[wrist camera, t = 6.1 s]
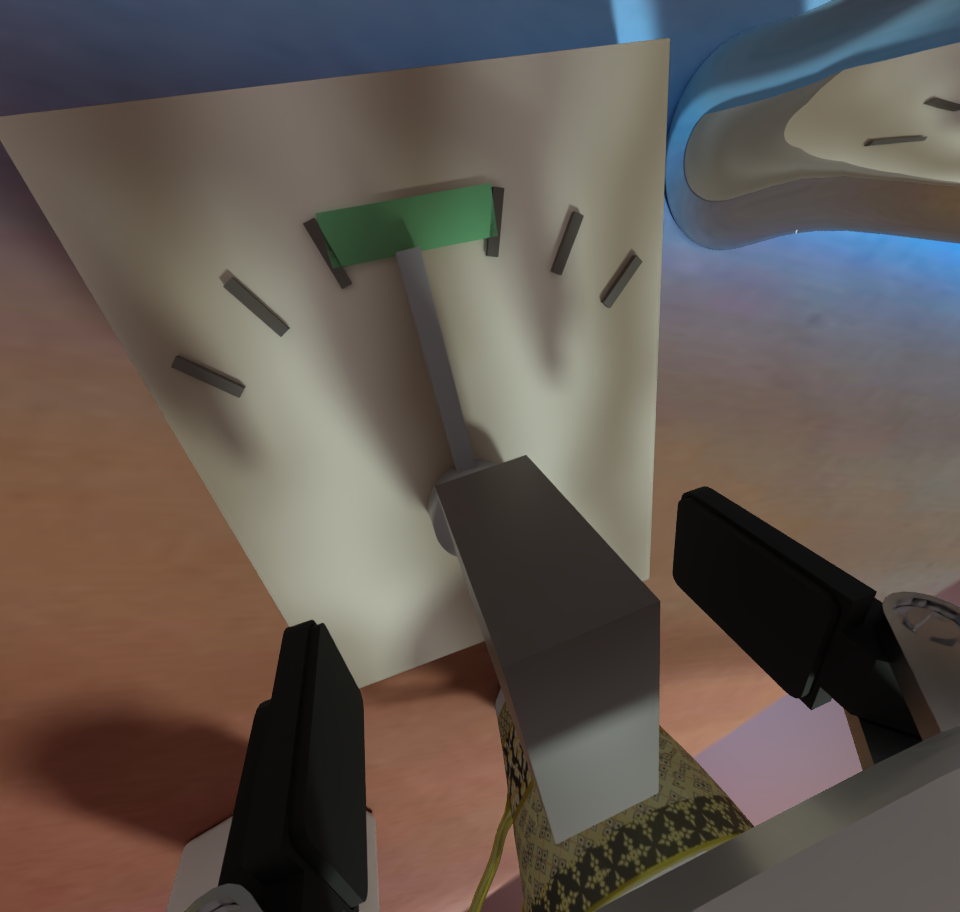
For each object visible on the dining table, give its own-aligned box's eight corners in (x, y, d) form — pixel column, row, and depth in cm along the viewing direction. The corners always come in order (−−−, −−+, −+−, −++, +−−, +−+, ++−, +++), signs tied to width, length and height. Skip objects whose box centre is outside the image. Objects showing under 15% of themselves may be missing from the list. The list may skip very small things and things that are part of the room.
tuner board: (623, 71, 12) (676, 33, 10) (624, 552, 21) (651, 581, 19) (55, 145, 9) (-22, 114, 7) (334, 657, 18) (331, 703, 16)
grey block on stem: (464, 235, 10) (704, 173, 3) (528, 548, 16) (674, 784, 9) (343, 265, 10) (321, 267, 3) (451, 578, 15) (538, 853, 8)
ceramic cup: (593, 588, 21) (758, 810, 13) (640, 675, 26) (782, 877, 18) (386, 719, 21) (409, 1036, 12) (473, 782, 26) (533, 1039, 17)
